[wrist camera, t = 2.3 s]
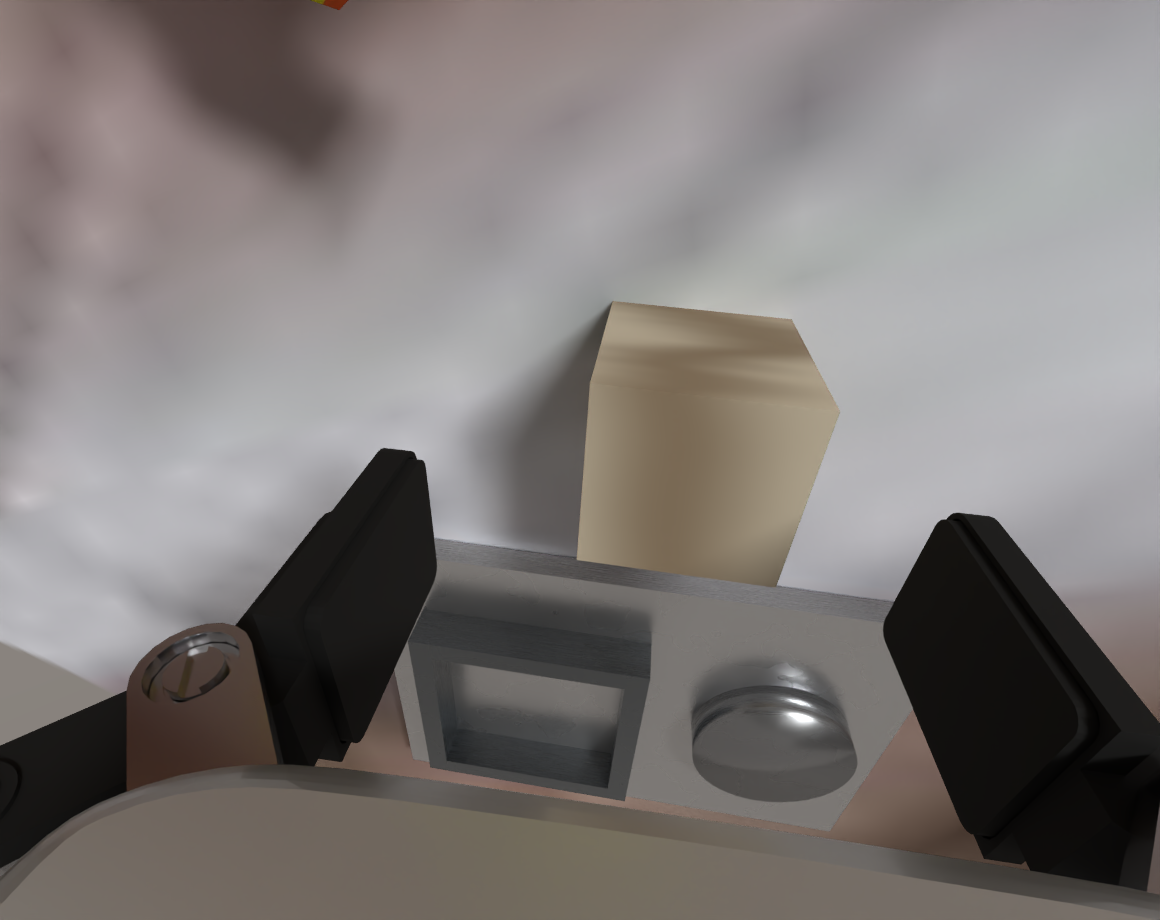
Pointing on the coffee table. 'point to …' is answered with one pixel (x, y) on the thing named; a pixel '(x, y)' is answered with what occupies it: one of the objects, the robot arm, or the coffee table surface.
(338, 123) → the coffee table surface
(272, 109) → the coffee table surface
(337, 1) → the yellow toy car
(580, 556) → the block
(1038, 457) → the coffee table surface
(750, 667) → the carrier plate
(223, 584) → the coffee table surface
